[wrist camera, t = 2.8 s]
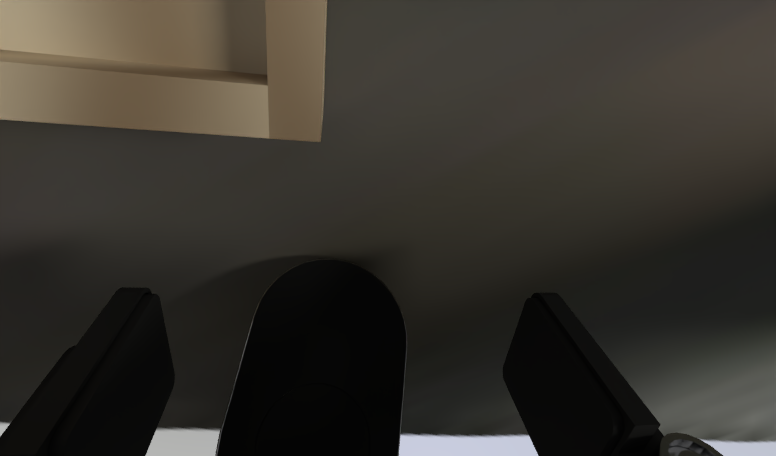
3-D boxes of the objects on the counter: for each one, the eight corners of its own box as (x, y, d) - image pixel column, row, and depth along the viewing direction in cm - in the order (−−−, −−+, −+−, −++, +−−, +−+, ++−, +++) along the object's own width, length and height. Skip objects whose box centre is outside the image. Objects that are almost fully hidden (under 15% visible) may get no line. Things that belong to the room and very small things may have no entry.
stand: (274, 241, 13) (185, 557, 9) (412, 279, 14) (389, 566, 10) (249, 306, 19) (190, 509, 15) (347, 328, 21) (317, 519, 17)
